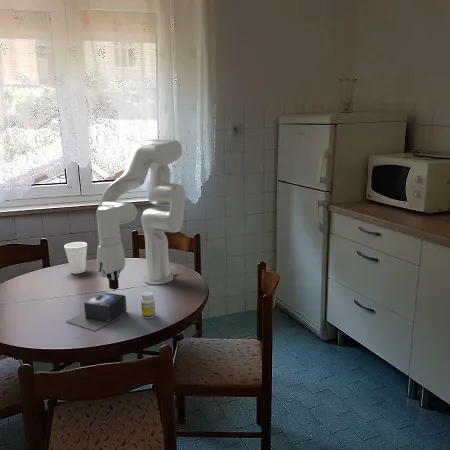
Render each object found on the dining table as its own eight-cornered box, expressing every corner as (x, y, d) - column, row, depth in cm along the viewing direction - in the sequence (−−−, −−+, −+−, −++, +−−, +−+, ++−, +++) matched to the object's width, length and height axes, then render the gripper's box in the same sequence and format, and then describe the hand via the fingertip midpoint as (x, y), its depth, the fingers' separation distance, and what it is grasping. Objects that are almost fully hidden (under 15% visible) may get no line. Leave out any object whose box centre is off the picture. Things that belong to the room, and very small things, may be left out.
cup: (68, 269, 207) (65, 242, 204) (90, 267, 209) (87, 241, 206) (65, 276, 197) (62, 248, 194) (89, 274, 200) (86, 246, 197)
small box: (126, 294, 159) (109, 306, 150) (127, 310, 161) (110, 323, 151) (101, 290, 163) (83, 302, 153) (102, 307, 164) (85, 319, 155)
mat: (96, 307, 165) (96, 306, 165) (124, 315, 158) (124, 314, 158) (66, 322, 153) (65, 321, 153) (94, 331, 146) (94, 330, 146)
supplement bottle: (142, 313, 159) (141, 291, 157) (156, 312, 160) (154, 290, 158) (141, 319, 155) (140, 296, 153) (155, 318, 155) (153, 296, 153)
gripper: (117, 234, 166) (120, 280, 170) (86, 244, 153) (91, 293, 158) (132, 236, 162) (135, 283, 166) (101, 247, 149) (106, 297, 154)
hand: (114, 288), depth 162 cm, fingers closed
